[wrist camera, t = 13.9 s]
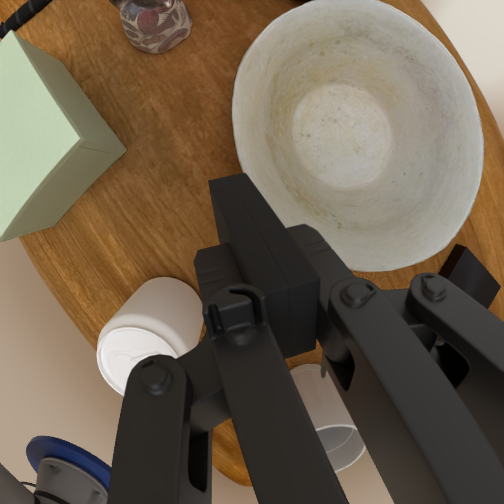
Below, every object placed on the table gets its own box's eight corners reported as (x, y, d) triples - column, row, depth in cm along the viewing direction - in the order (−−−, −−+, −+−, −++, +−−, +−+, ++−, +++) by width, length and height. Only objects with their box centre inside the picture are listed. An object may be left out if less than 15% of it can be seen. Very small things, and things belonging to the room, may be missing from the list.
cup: (347, 364, 36) (381, 426, 24) (322, 411, 38) (344, 477, 26) (287, 351, 35) (305, 419, 24) (265, 402, 37) (273, 473, 25)
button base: (445, 352, 37) (460, 365, 33) (404, 323, 35) (419, 337, 31) (491, 282, 35) (509, 290, 31) (456, 243, 33) (475, 250, 30)
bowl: (465, 132, 30) (519, 125, 21) (365, 289, 34) (405, 326, 24) (316, 4, 27) (339, -44, 17) (187, 162, 31) (164, 153, 21)
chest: (-1, 135, 28) (-52, 130, 19) (62, 62, 27) (17, 35, 18) (53, 226, 31) (1, 242, 22) (127, 150, 30) (85, 139, 20)
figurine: (186, 54, 28) (161, -3, 16) (124, 56, 28) (78, 8, 16) (196, 3, 27) (180, -61, 15) (137, 5, 26) (103, -50, 14)
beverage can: (124, 284, 33) (75, 330, 21) (192, 266, 33) (167, 311, 21) (148, 347, 35) (116, 411, 23) (214, 334, 35) (203, 401, 23)
